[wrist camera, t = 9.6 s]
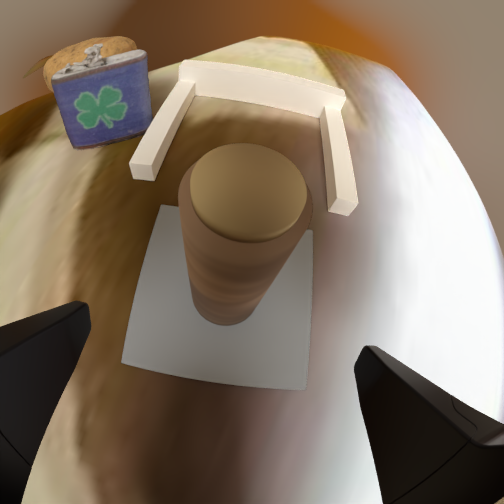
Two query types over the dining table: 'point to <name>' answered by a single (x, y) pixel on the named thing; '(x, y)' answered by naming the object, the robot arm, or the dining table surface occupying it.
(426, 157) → the dining table surface
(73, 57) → the potato
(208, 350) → the mat
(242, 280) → the brown wooden cylinder
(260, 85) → the white frame
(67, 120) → the flask
